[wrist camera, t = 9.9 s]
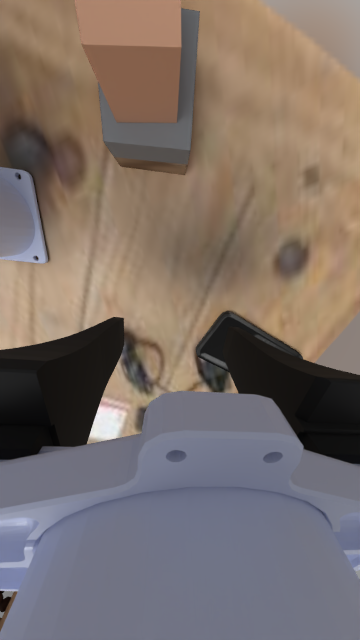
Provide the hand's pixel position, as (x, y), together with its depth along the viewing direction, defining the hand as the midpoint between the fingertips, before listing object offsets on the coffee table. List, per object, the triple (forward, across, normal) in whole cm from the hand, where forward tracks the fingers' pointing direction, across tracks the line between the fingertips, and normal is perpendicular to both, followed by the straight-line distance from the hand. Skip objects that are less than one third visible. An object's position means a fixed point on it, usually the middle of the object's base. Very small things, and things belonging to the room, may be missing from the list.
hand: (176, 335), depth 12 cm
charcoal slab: (+8, +3, -15) cm, 17 cm away
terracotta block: (+6, +3, -15) cm, 16 cm away
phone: (+11, -12, +8) cm, 18 cm away
